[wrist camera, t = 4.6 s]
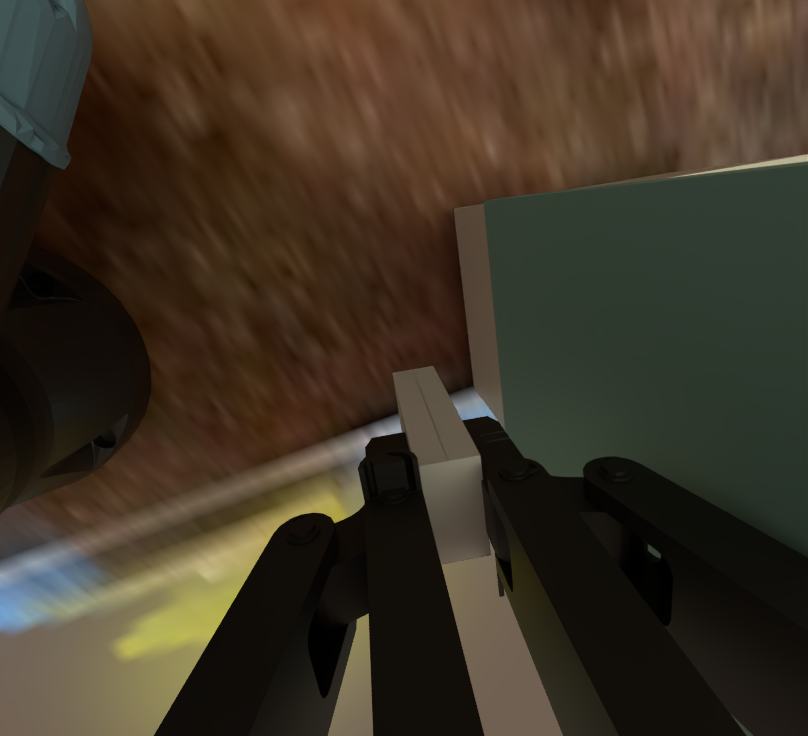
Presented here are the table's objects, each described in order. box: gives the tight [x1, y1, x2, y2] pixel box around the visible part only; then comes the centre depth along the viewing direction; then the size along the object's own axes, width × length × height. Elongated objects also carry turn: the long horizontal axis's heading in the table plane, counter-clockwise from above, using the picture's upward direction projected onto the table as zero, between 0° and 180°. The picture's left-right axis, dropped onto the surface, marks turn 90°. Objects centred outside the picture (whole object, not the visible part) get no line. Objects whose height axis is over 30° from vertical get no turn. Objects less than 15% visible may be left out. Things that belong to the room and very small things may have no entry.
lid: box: [483, 161, 808, 736], centre depth 14 cm, size 15×13×2 cm
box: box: [454, 154, 808, 429], centre depth 26 cm, size 14×12×10 cm
